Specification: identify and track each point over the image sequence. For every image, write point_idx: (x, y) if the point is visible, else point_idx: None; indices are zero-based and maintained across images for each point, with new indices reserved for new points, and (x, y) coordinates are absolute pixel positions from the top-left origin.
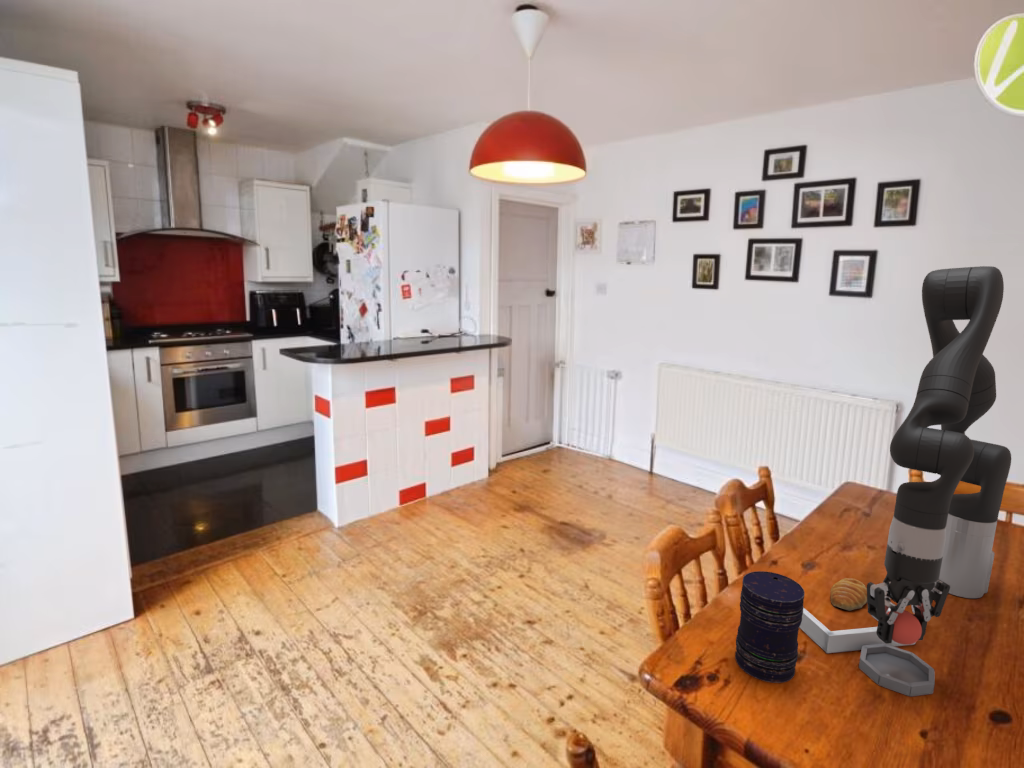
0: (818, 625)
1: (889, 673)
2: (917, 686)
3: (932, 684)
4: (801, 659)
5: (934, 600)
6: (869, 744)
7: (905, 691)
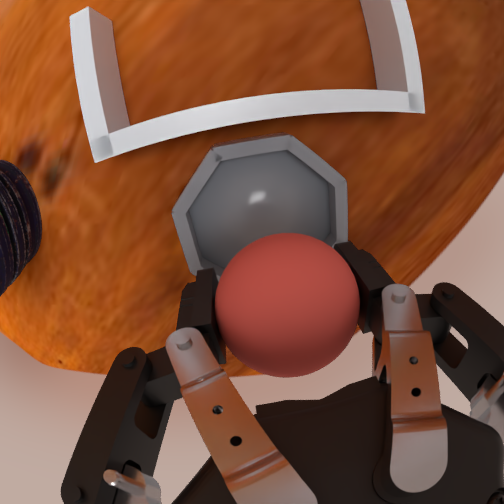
0: (84, 107)
1: (237, 234)
2: None
3: None
4: (57, 187)
5: (457, 368)
6: None
7: None
